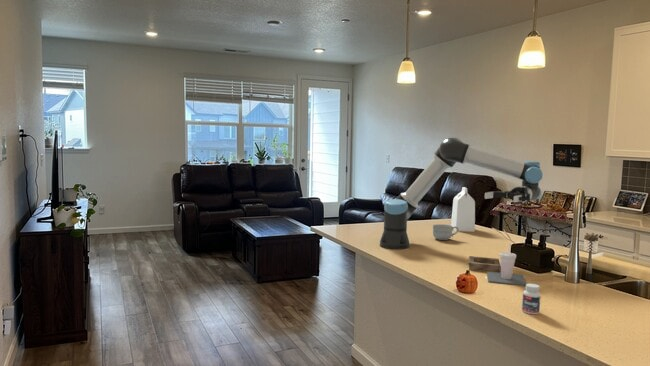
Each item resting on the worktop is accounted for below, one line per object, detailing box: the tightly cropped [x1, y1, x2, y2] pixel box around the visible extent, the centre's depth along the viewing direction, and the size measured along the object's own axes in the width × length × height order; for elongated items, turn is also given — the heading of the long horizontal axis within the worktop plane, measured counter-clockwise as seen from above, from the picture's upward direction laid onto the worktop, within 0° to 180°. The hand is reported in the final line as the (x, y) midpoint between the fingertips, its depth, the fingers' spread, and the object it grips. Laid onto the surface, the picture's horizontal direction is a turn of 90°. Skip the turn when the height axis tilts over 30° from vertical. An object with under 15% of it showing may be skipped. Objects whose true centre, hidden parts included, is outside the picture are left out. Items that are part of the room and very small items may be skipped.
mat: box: [486, 271, 527, 287], centre depth 191 cm, size 14×14×1 cm
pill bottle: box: [521, 283, 541, 315], centre depth 155 cm, size 5×5×9 cm
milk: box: [450, 186, 476, 232], centre depth 293 cm, size 12×12×26 cm
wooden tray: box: [468, 255, 501, 273], centre depth 208 cm, size 12×12×3 cm
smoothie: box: [498, 243, 517, 279], centre depth 190 cm, size 6×6×14 cm
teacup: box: [432, 223, 460, 241], centre depth 263 cm, size 14×11×8 cm
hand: (499, 197), depth 213 cm, fingers open, 13 cm apart
